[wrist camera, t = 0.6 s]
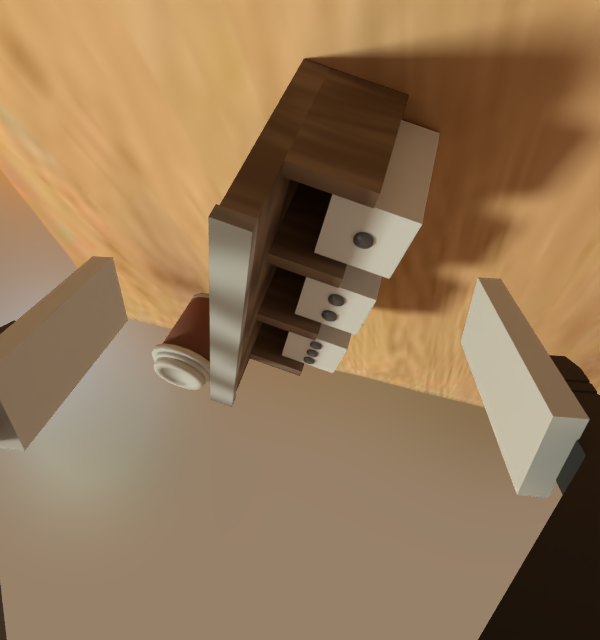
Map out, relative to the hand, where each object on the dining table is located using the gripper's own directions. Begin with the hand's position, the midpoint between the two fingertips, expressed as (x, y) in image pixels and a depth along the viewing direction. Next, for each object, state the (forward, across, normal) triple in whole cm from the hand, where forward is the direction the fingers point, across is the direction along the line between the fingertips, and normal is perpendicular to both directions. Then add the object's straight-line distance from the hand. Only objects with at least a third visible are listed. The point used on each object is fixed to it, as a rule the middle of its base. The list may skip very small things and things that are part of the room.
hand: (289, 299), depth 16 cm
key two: (+28, +4, -8) cm, 29 cm away
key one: (+24, +5, 0) cm, 24 cm away
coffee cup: (+40, -16, -25) cm, 50 cm away
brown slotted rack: (+28, 0, -6) cm, 29 cm away
